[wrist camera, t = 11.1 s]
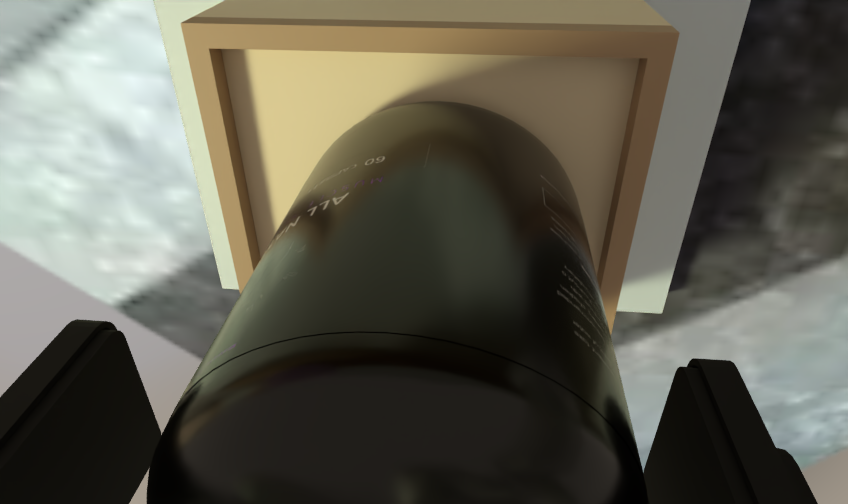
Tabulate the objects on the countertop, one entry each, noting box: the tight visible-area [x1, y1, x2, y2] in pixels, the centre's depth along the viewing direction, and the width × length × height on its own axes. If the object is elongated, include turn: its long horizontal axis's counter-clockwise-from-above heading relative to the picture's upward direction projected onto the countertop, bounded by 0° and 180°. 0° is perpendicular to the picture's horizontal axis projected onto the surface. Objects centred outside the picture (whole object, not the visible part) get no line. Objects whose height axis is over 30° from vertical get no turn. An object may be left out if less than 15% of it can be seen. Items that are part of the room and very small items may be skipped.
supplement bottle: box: [147, 101, 649, 504], centre depth 10 cm, size 7×7×12 cm
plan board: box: [153, 0, 751, 335], centre depth 17 cm, size 16×11×6 cm
